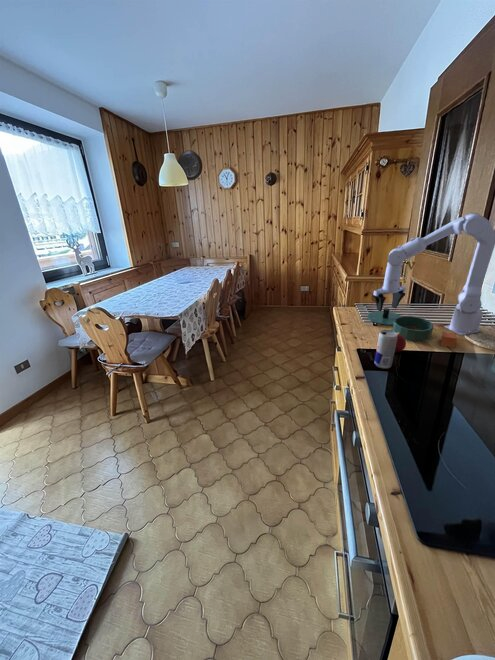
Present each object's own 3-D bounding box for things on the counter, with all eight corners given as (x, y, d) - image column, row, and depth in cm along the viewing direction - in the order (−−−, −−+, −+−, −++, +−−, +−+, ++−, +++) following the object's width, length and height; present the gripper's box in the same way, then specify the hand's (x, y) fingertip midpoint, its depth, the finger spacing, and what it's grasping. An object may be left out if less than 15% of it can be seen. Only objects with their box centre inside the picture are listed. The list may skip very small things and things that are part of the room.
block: (440, 341, 107) (443, 331, 105) (453, 343, 105) (456, 333, 103) (440, 345, 104) (443, 336, 102) (453, 348, 102) (456, 338, 100)
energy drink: (377, 358, 99) (382, 328, 93) (393, 363, 96) (400, 332, 90) (372, 365, 95) (377, 334, 90) (388, 371, 92) (395, 339, 87)
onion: (405, 357, 99) (410, 337, 95) (388, 356, 100) (392, 336, 96) (401, 348, 104) (405, 329, 100) (384, 347, 105) (388, 328, 101)
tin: (411, 324, 120) (414, 313, 118) (438, 338, 108) (441, 327, 106) (384, 330, 117) (386, 319, 115) (409, 345, 105) (412, 333, 103)
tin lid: (387, 311, 133) (389, 301, 131) (410, 323, 121) (413, 312, 119) (360, 316, 130) (362, 305, 128) (381, 329, 118) (383, 318, 116)
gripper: (399, 274, 122) (394, 303, 128) (370, 278, 119) (366, 308, 125) (412, 278, 116) (405, 308, 122) (382, 283, 113) (376, 314, 119)
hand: (386, 308), depth 123 cm, fingers open, 7 cm apart
